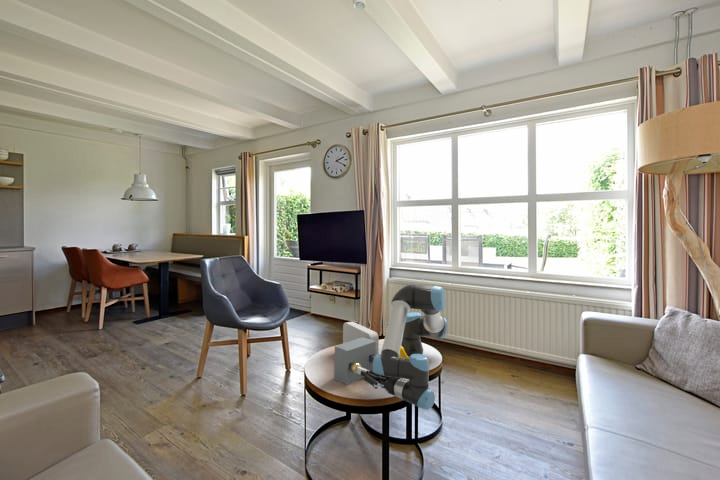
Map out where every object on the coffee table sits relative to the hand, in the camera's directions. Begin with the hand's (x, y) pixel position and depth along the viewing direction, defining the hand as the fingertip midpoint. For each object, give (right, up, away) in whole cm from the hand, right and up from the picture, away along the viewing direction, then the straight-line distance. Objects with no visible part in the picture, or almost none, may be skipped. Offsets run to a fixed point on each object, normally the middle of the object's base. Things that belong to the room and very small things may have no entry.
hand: (357, 369), depth 150 cm
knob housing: (-1, -7, +11) cm, 14 cm away
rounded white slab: (+1, -7, +33) cm, 34 cm away
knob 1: (-3, -2, +4) cm, 5 cm away
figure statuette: (+21, -8, +24) cm, 32 cm away
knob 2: (+9, -2, +12) cm, 15 cm away
